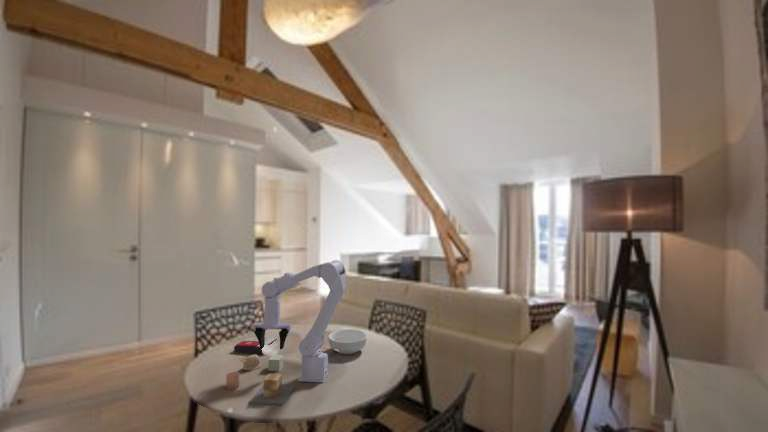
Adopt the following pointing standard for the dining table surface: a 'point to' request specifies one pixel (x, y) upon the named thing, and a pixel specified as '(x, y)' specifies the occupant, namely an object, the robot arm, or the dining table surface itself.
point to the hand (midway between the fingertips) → (272, 348)
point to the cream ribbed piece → (250, 362)
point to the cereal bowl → (348, 341)
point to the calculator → (251, 346)
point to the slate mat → (277, 400)
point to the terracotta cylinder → (232, 381)
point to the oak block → (272, 385)
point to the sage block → (275, 363)
